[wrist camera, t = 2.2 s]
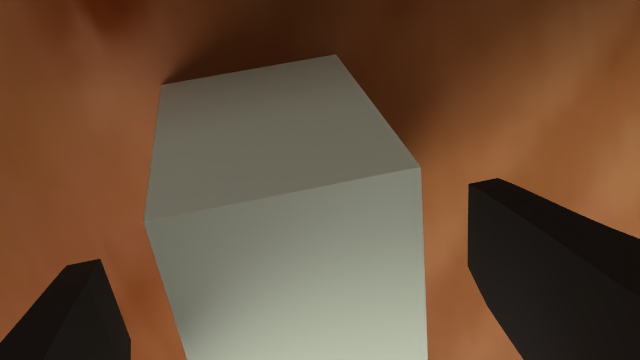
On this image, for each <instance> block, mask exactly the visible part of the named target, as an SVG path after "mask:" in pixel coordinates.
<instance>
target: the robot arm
mask: <svg viewBox="0 0 640 360" xmlns="http://www.w3.org/2000/svg"><path fill="white" fill-rule="evenodd" d="M468 267H469V270H470V272H471V274H472V276H473V278H474V280H475V282H476V284H477V286H478V288H479V290H480V292H481V294H482V296H483V298H484V300H485V302H486V304H487V306H488V308H489V309H490V311H491V312H492V314H493V315H494V317H495V318H496V320H497V321H498V323H499V324H500V326H501V327H502V329H503V330H504V332H505V333H506V335H507V336H508V337H509V339H510V340H511V342H512V343H513V345H514V346H515V348H516V349H517V351H518V352H519V353H520V355H521V356H522V358H523V359H524V360H640V239H638V238H636V237H633V236H631V235H628V234H625V233H623V232H620V231H618V230H615V229H613V228H610V227H608V226H605V225H603V224H601V223H598V222H596V221H594V220H591V219H589V218H587V217H584V216H582V215H580V214H578V213H575V212H573V211H571V210H569V209H567V208H564V207H562V206H560V205H558V204H556V203H553V202H551V201H549V200H547V199H545V198H543V197H541V196H538V195H536V194H534V193H532V192H530V191H528V190H525V189H523V188H521V187H519V186H516V185H514V184H512V183H509V182H507V181H504V180H502V179H499V178H496V179H491V180H486V181H481V182H476V183H471V184H469V192H468ZM0 360H131V339H130V337H129V334H128V331H127V329H126V326H125V323H124V321H123V318H122V315H121V313H120V310H119V307H118V305H117V302H116V299H115V297H114V294H113V291H112V289H111V286H110V283H109V281H108V278H107V275H106V273H105V270H104V267H103V265H102V262H101V260H100V259H97V260H92V261H87V262H82V263H77V264H72V265H67V266H66V267H65V268H64V269H63V270H62V271H61V272H60V274H59V275H58V276H57V277H56V278H55V279H54V280H53V282H52V283H51V284H50V285H49V286H48V288H47V289H46V290H45V291H44V292H43V293H42V295H41V296H40V297H39V298H38V299H37V301H36V302H35V303H34V304H33V305H32V307H31V308H30V309H29V310H28V311H27V312H26V314H25V315H24V316H23V317H22V318H21V319H20V321H19V322H18V323H17V324H16V325H15V326H14V328H13V329H12V330H11V331H10V332H9V333H8V335H7V336H6V337H5V338H4V339H3V340H2V341H1V343H0Z"/></svg>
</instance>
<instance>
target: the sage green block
mask: <svg viewBox="0 0 640 360" xmlns="http://www.w3.org/2000/svg"><path fill="white" fill-rule="evenodd" d="M144 225H145V228H146V231H147V234H148V238H149V241H150V244H151V247H152V250H153V253H154V256H155V260H156V263H157V266H158V269H159V272H160V275H161V278H162V282H163V285H164V288H165V291H166V294H167V297H168V300H169V304H170V307H171V310H172V313H173V316H174V319H175V322H176V325H177V329H178V332H179V335H180V338H181V341H182V344H183V347H184V351H185V354H186V357H187V360H428V355H427V327H426V299H425V271H424V243H423V215H422V188H421V166H420V165H419V164H418V162H417V161H416V160H415V158H414V157H413V156H412V154H411V153H410V152H409V150H408V149H407V148H406V146H405V145H404V144H403V142H402V141H401V140H400V139H399V137H398V136H397V135H396V133H395V132H394V131H393V129H392V128H391V127H390V125H389V124H388V123H387V121H386V120H385V119H384V117H383V116H382V115H381V113H380V112H379V111H378V109H377V108H376V107H375V105H374V104H373V103H372V101H371V100H370V99H369V97H368V96H367V95H366V93H365V92H364V91H363V89H362V88H361V87H360V86H359V84H358V83H357V82H356V80H355V79H354V78H353V76H352V75H351V74H350V72H349V71H348V70H347V68H346V67H345V66H344V64H343V63H342V62H341V60H340V59H339V58H338V56H337V55H336V54H335V55H329V56H323V57H318V58H312V59H306V60H301V61H295V62H289V63H283V64H278V65H272V66H266V67H261V68H255V69H249V70H244V71H238V72H232V73H226V74H221V75H215V76H209V77H204V78H198V79H192V80H187V81H181V82H175V83H170V84H164V85H161V89H160V97H159V105H158V113H157V121H156V129H155V136H154V144H153V152H152V160H151V168H150V176H149V184H148V192H147V199H146V207H145V215H144Z"/></svg>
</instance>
